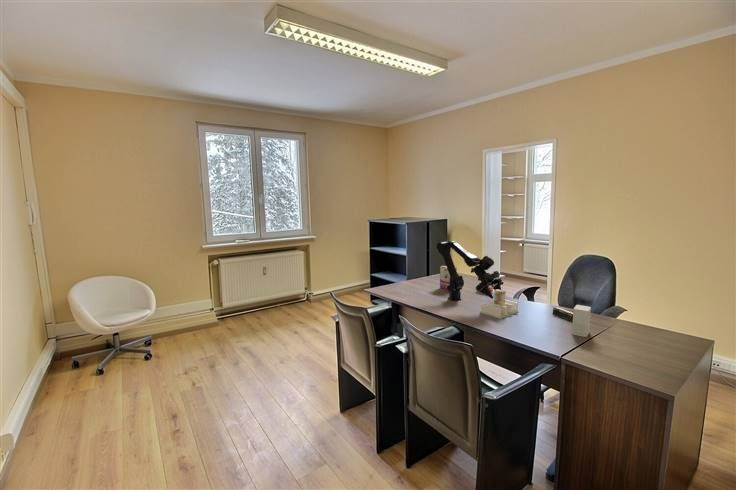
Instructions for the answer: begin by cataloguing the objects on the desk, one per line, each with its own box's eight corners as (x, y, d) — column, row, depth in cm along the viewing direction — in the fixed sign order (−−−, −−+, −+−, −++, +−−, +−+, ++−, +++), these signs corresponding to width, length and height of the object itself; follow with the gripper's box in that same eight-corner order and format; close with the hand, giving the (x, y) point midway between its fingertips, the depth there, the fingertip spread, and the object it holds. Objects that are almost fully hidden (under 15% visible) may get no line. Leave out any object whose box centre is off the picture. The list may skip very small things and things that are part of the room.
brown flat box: (573, 326, 180) (574, 318, 179) (536, 311, 203) (536, 304, 202) (594, 322, 184) (595, 315, 184) (555, 308, 208) (555, 301, 207)
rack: (479, 312, 201) (480, 303, 200) (498, 306, 211) (498, 297, 211) (500, 319, 190) (500, 309, 190) (518, 312, 201) (518, 302, 200)
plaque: (493, 310, 202) (494, 290, 200) (496, 309, 204) (497, 289, 202) (501, 312, 198) (502, 292, 196) (504, 311, 200) (505, 291, 198)
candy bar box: (456, 289, 249) (457, 267, 247) (452, 291, 246) (453, 268, 243) (443, 287, 257) (443, 265, 255) (439, 288, 254) (439, 266, 251)
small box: (574, 329, 175) (576, 304, 173) (589, 332, 171) (591, 306, 169) (571, 334, 169) (573, 308, 167) (586, 337, 165) (588, 311, 163)
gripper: (480, 269, 197) (497, 292, 190) (500, 264, 208) (516, 286, 201) (468, 279, 204) (484, 302, 197) (488, 275, 215) (503, 296, 208)
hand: (497, 296), depth 201 cm, fingers open, 9 cm apart
